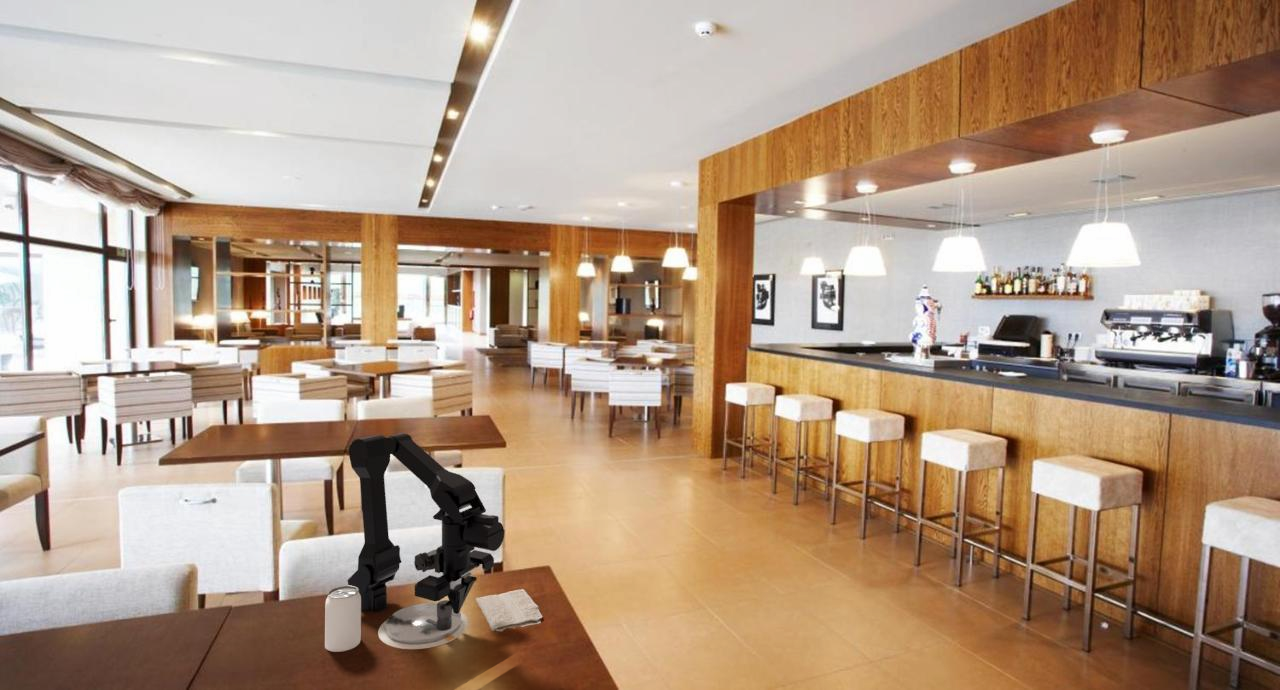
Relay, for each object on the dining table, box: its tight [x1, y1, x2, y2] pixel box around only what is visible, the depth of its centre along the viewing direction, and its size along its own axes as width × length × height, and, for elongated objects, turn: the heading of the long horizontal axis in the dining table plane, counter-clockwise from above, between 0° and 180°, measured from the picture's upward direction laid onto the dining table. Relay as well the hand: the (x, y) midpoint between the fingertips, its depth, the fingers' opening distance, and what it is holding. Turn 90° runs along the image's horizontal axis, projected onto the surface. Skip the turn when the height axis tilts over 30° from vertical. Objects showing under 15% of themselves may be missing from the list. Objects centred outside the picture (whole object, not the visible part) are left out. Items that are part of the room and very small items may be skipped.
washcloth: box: [475, 588, 543, 632], centre depth 146 cm, size 12×18×3 cm, turn 28°
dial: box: [386, 599, 462, 644], centre depth 137 cm, size 15×15×6 cm
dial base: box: [377, 611, 469, 650], centre depth 137 cm, size 18×18×2 cm
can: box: [324, 585, 362, 653], centre depth 129 cm, size 6×6×12 cm
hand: (456, 613), depth 137 cm, fingers closed
